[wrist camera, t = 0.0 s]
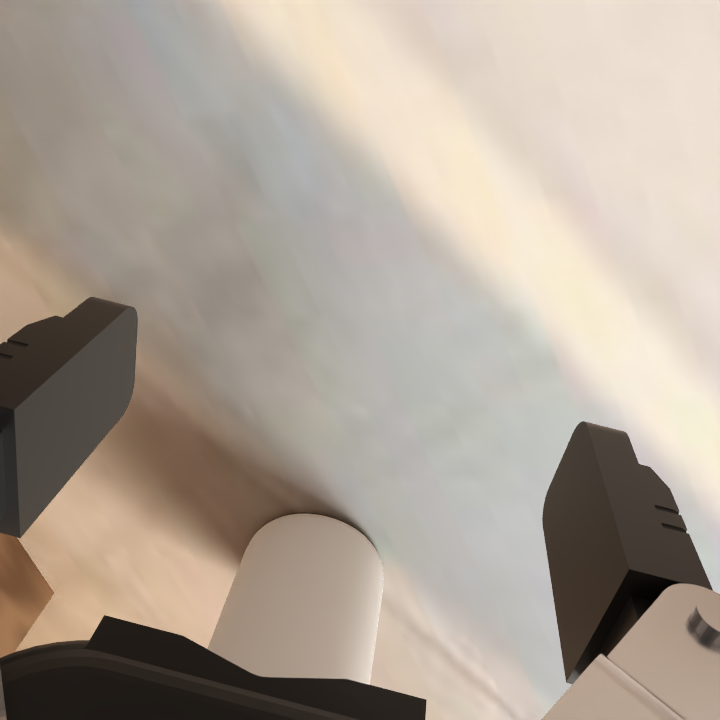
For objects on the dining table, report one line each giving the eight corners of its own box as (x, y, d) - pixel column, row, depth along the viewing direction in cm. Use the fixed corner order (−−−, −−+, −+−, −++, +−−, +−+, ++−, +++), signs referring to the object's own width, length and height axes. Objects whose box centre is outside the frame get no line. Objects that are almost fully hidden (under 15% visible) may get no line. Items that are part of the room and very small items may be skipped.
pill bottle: (258, 606, 41) (159, 896, 28) (238, 504, 37) (114, 785, 24) (389, 616, 40) (348, 924, 27) (383, 512, 36) (332, 812, 23)
